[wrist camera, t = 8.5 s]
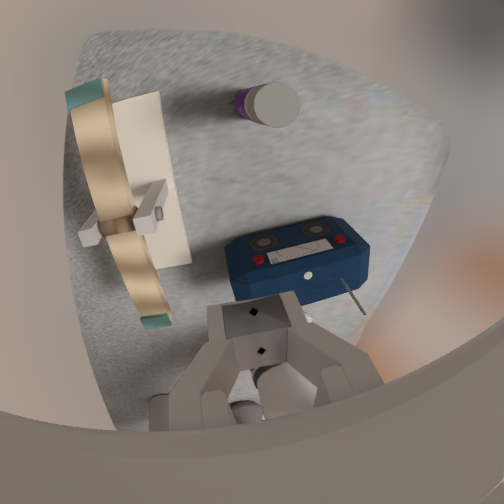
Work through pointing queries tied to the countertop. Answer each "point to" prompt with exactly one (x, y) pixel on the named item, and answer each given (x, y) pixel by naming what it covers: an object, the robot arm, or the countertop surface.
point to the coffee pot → (247, 412)
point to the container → (269, 104)
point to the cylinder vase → (159, 413)
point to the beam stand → (147, 182)
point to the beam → (115, 198)
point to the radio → (299, 262)
